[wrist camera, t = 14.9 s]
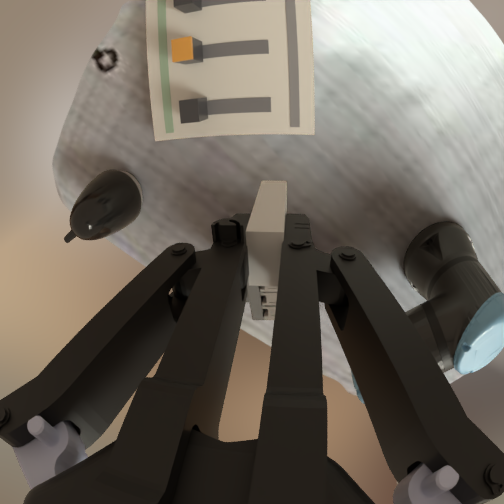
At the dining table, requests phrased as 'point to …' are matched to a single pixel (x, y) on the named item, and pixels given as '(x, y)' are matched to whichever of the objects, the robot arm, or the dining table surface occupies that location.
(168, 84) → the breaker panel
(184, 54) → the block
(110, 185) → the pump dispenser
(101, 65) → the dining table surface
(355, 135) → the dining table surface
